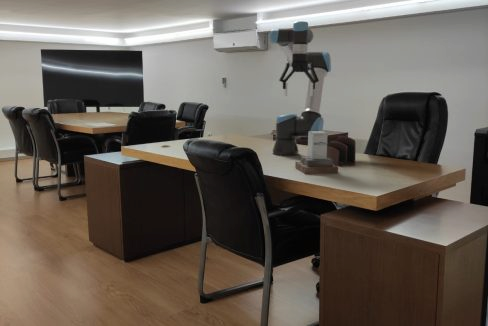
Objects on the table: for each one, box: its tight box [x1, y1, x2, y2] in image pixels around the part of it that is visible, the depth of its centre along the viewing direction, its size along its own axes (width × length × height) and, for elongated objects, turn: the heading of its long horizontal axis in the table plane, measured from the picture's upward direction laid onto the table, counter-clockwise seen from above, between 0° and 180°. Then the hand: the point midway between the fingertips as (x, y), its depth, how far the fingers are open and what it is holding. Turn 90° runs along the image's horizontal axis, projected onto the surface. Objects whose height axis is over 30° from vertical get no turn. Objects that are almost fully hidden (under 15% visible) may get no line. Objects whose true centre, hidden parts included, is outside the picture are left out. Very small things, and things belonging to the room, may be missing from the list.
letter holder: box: [327, 135, 356, 167], centre depth 250 cm, size 10×20×14 cm, turn 15°
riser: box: [294, 155, 339, 175], centre depth 228 cm, size 16×16×6 cm
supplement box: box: [306, 130, 328, 159], centre depth 226 cm, size 7×7×13 cm
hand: (298, 95), depth 244 cm, fingers open, 13 cm apart
